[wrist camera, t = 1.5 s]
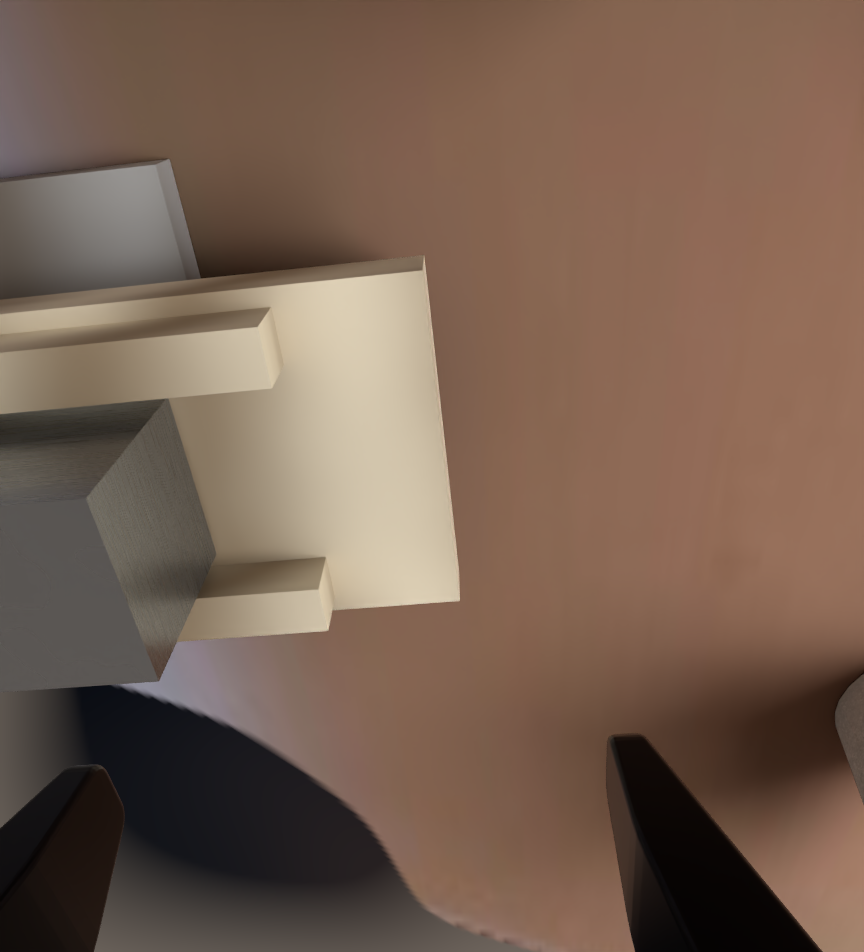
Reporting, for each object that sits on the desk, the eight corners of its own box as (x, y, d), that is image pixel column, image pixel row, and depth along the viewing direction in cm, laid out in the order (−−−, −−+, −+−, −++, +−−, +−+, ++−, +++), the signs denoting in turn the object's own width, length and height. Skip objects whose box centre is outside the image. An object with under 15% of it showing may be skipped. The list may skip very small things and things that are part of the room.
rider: (168, 396, 15) (85, 498, 12) (216, 553, 17) (159, 681, 14) (-63, 418, 16) (-210, 523, 12) (10, 570, 17) (-97, 698, 14)
